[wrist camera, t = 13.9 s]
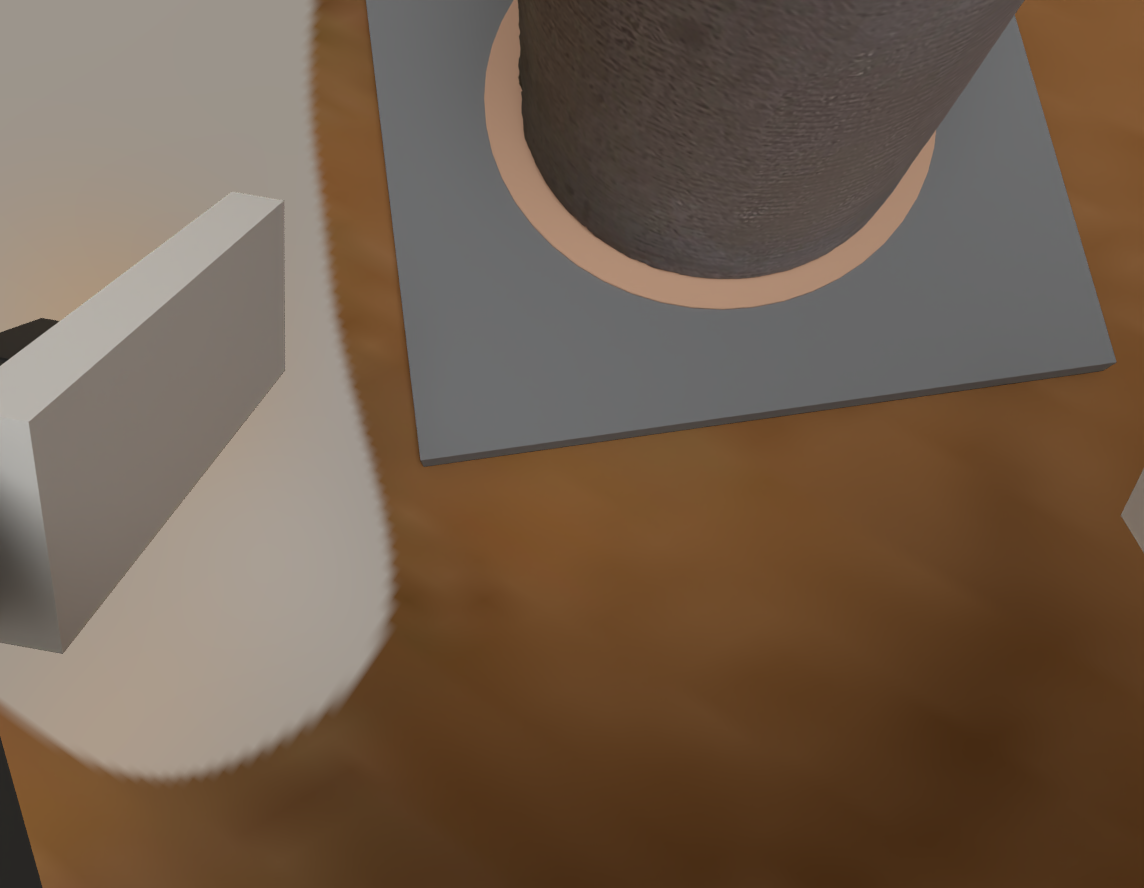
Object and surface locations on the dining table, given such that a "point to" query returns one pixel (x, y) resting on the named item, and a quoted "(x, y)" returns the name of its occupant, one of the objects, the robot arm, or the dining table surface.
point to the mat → (693, 304)
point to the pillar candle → (739, 117)
